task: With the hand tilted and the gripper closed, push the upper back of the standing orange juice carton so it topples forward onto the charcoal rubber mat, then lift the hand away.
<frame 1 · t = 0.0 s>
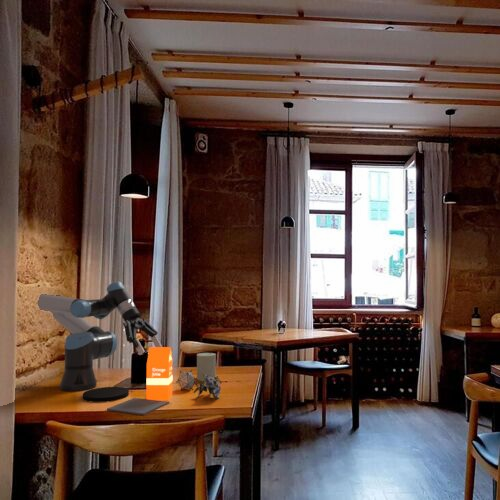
hand: (151, 351, 199), 15 cm above the table, tool tilted 35°, fingers open, 13 cm apart
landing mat: (139, 406, 165), on the table
game die: (186, 390, 190), on the table
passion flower: (207, 398, 176), on the table
wireless charger: (106, 397, 181), on the table
orange juice: (159, 398, 177), on the table
can: (206, 379, 212), on the table
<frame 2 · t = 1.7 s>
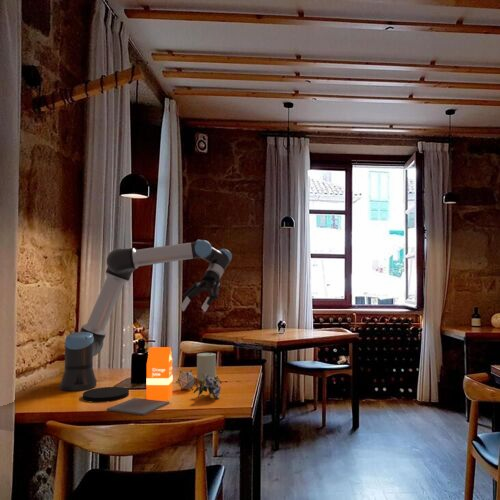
hand: (192, 309, 199), 34 cm above the table, tool tilted 45°, fingers open, 12 cm apart
nothing on the table moved.
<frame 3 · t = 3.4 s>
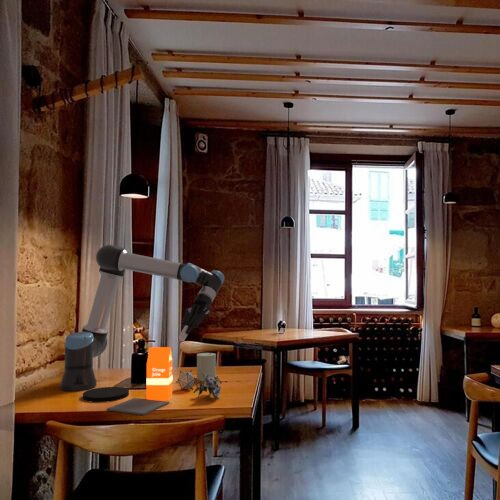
hand: (181, 339, 190), 22 cm above the table, tool tilted 45°, fingers closed
nothing on the table moved.
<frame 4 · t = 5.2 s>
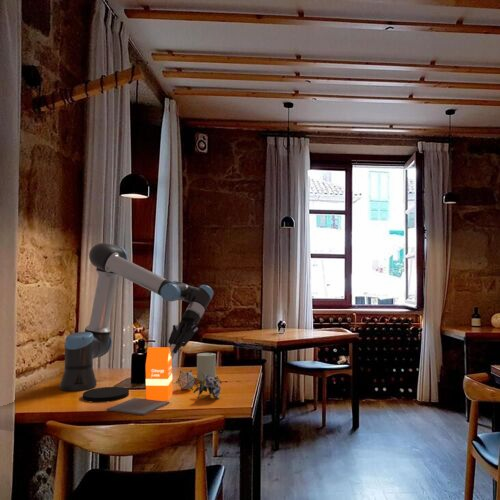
hand: (167, 358, 181), 15 cm above the table, tool tilted 45°, fingers closed
orange juice: (159, 397, 177), on the table, touching gripper
everything else where it was.
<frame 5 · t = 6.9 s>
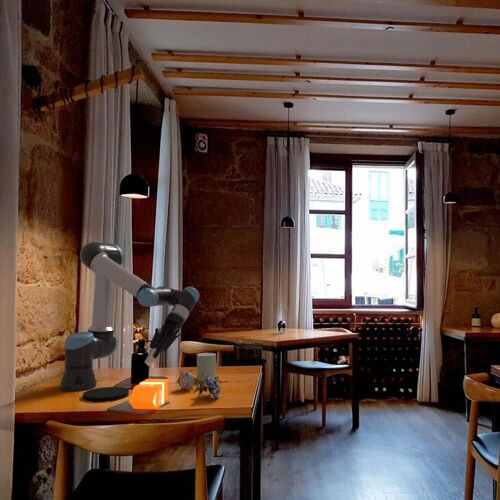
hand: (147, 364, 173), 14 cm above the table, tool tilted 45°, fingers closed
orange juice: (157, 388, 174), point 4 cm above the table, touching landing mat
everything else where it was.
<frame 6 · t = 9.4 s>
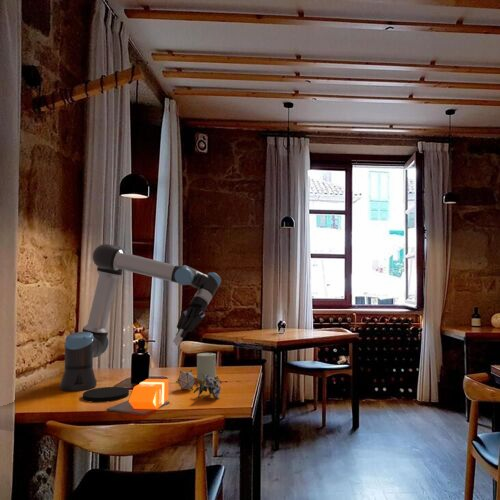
hand: (175, 343, 188), 20 cm above the table, tool tilted 45°, fingers closed
nothing on the table moved.
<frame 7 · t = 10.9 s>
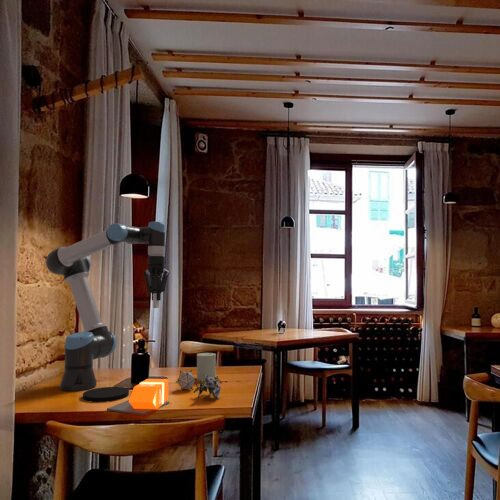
hand: (156, 307, 201), 34 cm above the table, tool pointing down, fingers closed
nothing on the table moved.
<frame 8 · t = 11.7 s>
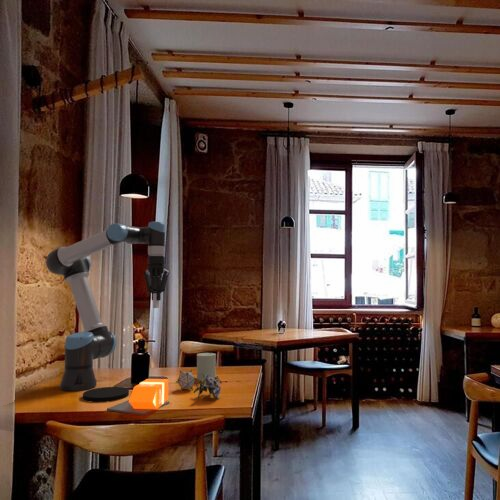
hand: (156, 307, 201), 34 cm above the table, tool pointing down, fingers closed
nothing on the table moved.
at the end: orange juice tilted 89°; orange juice inside the target area (2.1 cm from its centre), point 4.4 cm above the table; orange juice touching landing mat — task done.
